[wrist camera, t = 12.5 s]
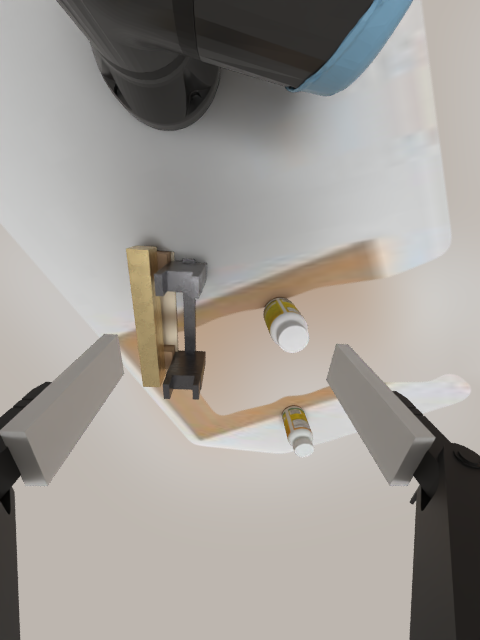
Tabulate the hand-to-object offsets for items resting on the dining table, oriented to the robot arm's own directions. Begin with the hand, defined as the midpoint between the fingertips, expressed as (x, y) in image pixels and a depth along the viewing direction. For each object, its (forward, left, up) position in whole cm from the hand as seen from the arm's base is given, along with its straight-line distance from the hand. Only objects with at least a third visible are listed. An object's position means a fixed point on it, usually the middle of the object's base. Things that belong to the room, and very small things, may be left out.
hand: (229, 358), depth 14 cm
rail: (+9, -13, -26) cm, 30 cm away
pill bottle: (+8, +10, -29) cm, 32 cm away
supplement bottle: (+34, +17, -29) cm, 48 cm away
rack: (+10, -7, -29) cm, 31 cm away
